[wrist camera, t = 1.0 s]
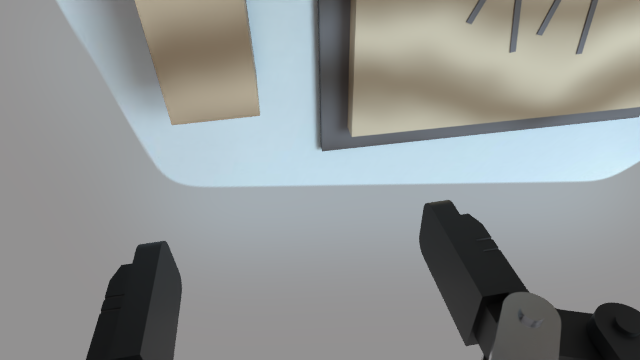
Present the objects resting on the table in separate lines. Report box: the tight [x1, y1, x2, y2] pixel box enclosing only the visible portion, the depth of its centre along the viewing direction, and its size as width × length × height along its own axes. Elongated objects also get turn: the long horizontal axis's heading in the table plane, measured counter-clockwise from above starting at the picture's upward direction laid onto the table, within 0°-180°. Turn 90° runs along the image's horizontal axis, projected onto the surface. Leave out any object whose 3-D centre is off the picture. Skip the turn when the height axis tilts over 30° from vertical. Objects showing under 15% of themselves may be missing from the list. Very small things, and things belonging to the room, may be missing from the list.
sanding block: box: [135, 0, 260, 125], centre depth 23 cm, size 9×5×6 cm, turn 2°
